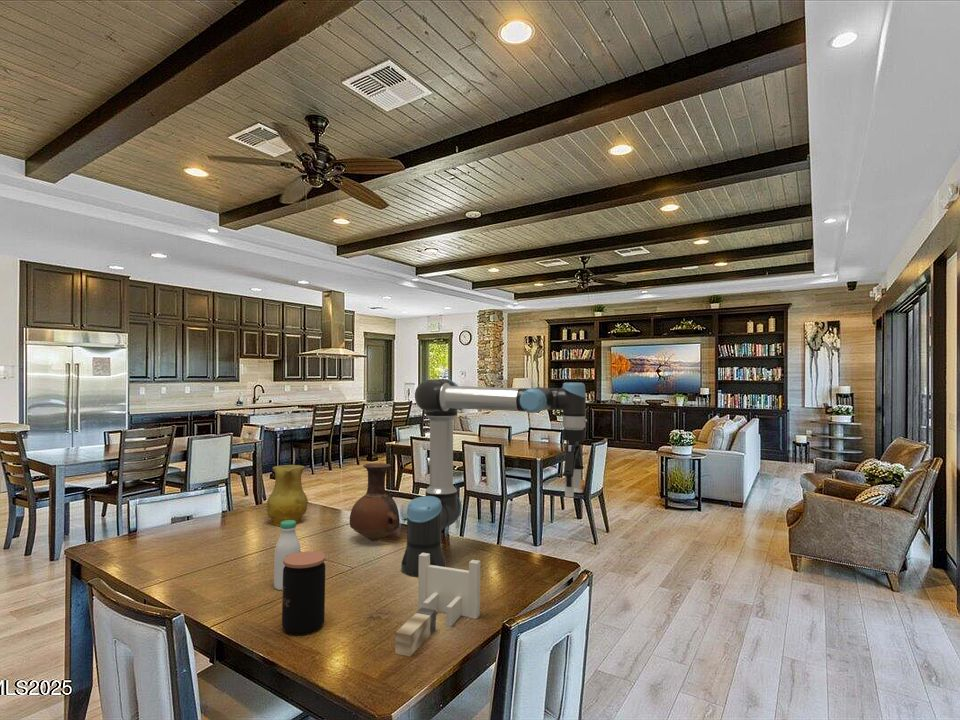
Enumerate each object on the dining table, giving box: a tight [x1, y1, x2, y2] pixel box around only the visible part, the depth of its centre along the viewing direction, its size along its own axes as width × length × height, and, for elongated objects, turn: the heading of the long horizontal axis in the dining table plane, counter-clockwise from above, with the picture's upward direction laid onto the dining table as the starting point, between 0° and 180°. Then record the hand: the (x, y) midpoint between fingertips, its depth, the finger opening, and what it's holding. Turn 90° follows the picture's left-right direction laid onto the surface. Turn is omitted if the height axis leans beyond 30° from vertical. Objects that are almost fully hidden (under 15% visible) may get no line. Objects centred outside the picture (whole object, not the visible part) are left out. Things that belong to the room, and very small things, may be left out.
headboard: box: [417, 553, 481, 627], centre depth 148 cm, size 18×9×15 cm, turn 70°
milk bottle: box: [273, 520, 302, 591], centre depth 168 cm, size 8×8×20 cm
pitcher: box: [266, 464, 309, 527], centre depth 238 cm, size 17×19×25 cm
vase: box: [349, 462, 400, 542], centre depth 214 cm, size 25×20×30 cm
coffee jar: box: [281, 550, 326, 636], centre depth 141 cm, size 11×11×18 cm
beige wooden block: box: [394, 607, 437, 657], centre depth 134 cm, size 14×4×5 cm, turn 160°
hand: (573, 492), depth 179 cm, fingers open, 13 cm apart
